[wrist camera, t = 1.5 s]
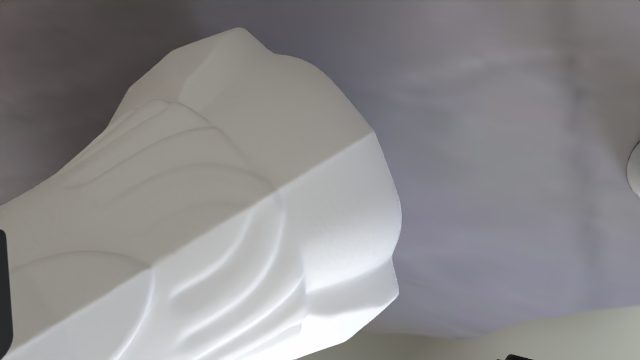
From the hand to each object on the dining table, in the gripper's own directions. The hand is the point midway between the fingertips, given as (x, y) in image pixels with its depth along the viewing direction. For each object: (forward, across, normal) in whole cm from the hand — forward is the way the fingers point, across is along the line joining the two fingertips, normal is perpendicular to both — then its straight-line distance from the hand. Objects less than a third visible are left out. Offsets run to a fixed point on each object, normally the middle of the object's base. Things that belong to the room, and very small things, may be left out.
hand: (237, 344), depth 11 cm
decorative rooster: (+23, +8, +10) cm, 26 cm away
